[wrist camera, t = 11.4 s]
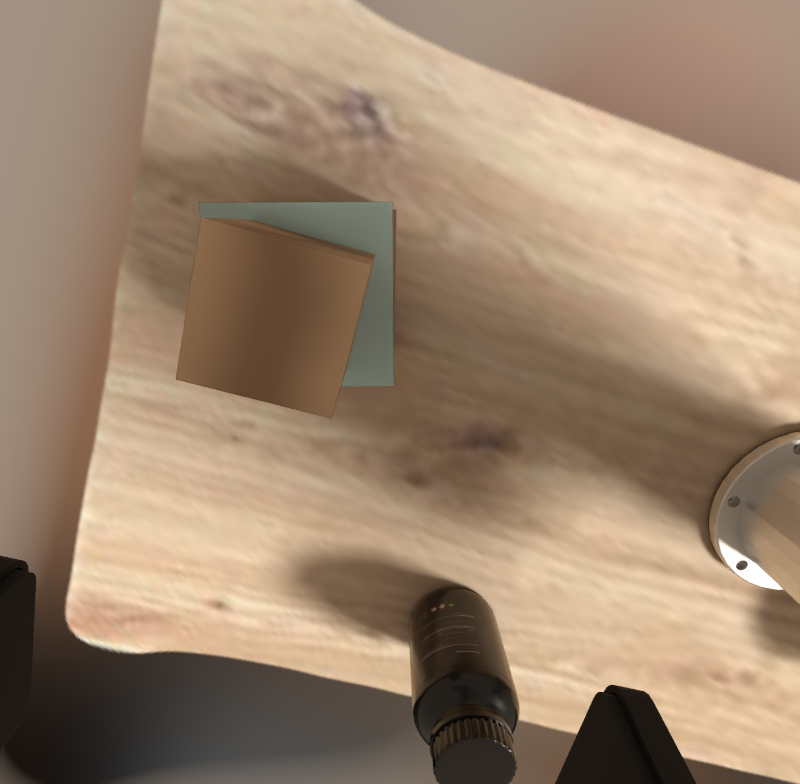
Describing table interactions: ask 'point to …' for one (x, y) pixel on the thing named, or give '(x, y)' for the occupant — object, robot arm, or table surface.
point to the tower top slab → (354, 229)
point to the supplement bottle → (462, 689)
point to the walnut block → (272, 314)
